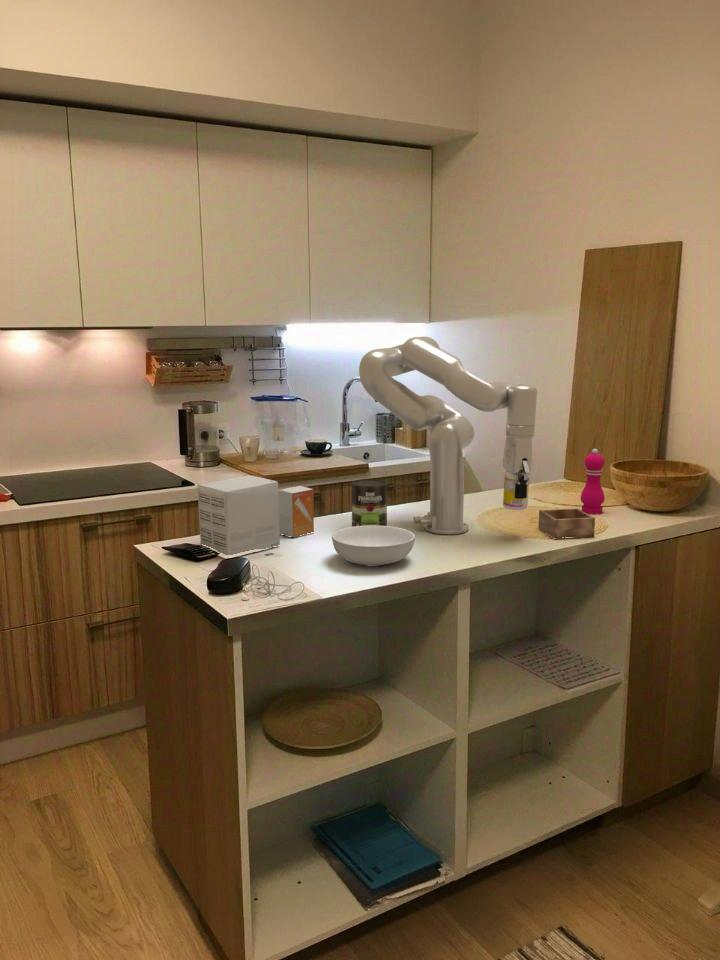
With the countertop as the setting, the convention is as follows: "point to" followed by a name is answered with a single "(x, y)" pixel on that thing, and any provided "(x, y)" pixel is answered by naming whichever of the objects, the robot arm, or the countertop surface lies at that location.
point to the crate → (567, 523)
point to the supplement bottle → (513, 493)
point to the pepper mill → (593, 484)
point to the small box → (296, 511)
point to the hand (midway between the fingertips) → (515, 494)
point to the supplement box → (239, 514)
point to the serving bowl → (373, 544)
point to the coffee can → (369, 502)
